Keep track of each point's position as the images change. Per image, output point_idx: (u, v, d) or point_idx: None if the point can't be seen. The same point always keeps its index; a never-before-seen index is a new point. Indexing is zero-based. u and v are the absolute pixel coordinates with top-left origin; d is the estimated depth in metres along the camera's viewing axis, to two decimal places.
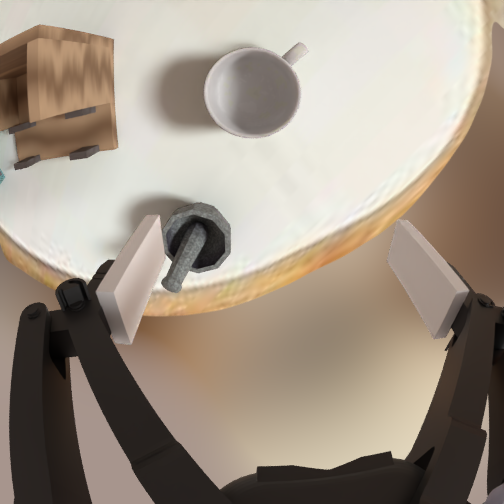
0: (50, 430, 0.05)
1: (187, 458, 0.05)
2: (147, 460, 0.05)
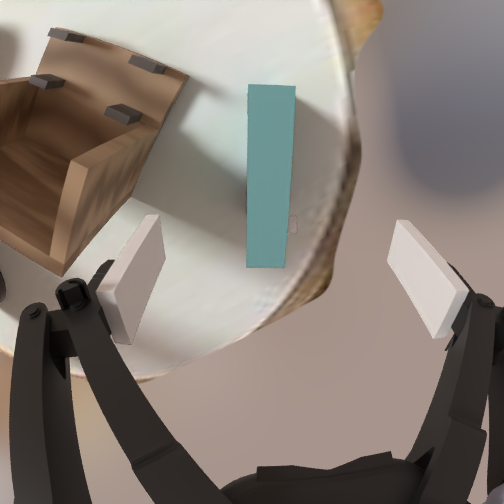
0: (50, 430, 0.05)
1: (187, 458, 0.05)
2: (147, 460, 0.05)
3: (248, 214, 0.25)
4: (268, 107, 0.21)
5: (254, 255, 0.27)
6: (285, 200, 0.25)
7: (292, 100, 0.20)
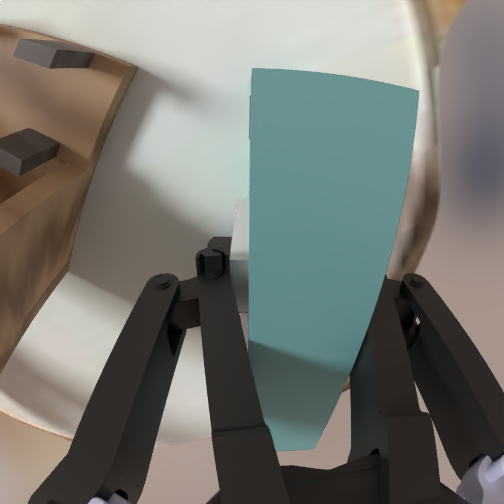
0: (139, 405, 0.07)
1: (269, 442, 0.05)
2: (230, 432, 0.05)
3: None
4: (327, 160, 0.06)
5: None
6: (337, 383, 0.10)
7: (406, 139, 0.05)
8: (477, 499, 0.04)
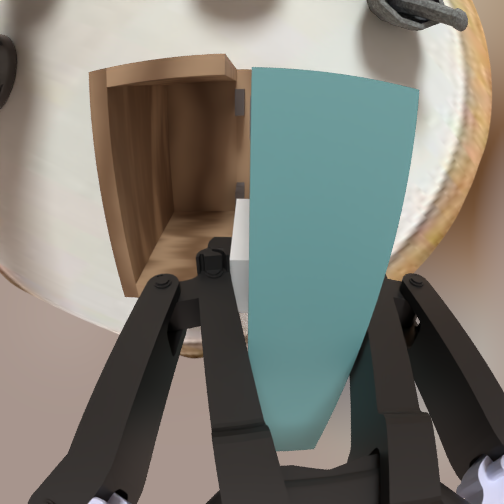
0: (139, 405, 0.07)
1: (269, 442, 0.05)
2: (230, 432, 0.05)
3: None
4: (326, 159, 0.06)
5: None
6: (337, 382, 0.10)
7: (406, 138, 0.05)
8: (477, 499, 0.04)
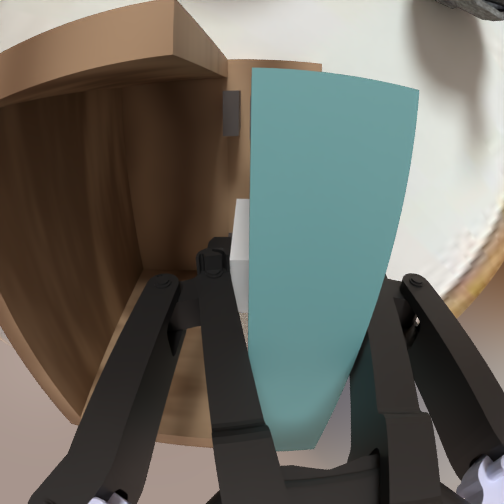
0: (139, 405, 0.07)
1: (269, 442, 0.05)
2: (230, 432, 0.05)
3: None
4: (326, 159, 0.06)
5: None
6: (337, 382, 0.10)
7: (406, 139, 0.05)
8: (477, 499, 0.04)
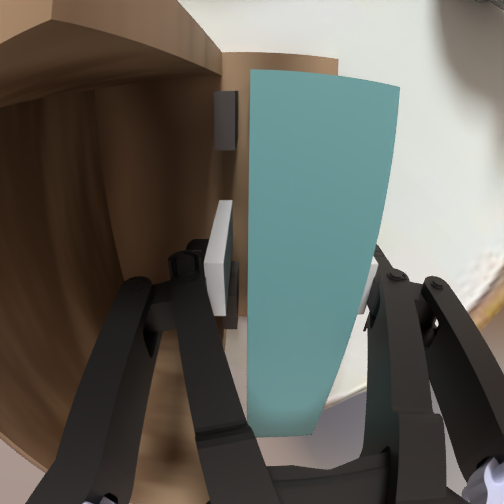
0: (120, 407, 0.06)
1: (253, 443, 0.05)
2: (213, 435, 0.05)
3: (250, 386, 0.11)
4: (317, 149, 0.07)
5: (261, 427, 0.13)
6: (331, 363, 0.10)
7: (388, 130, 0.06)
8: (481, 501, 0.04)
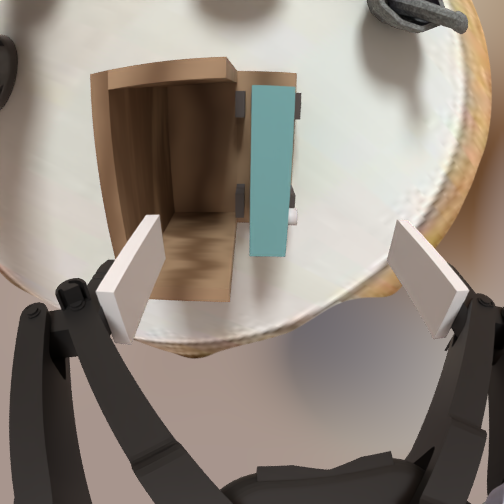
0: (50, 430, 0.05)
1: (187, 458, 0.05)
2: (147, 460, 0.05)
3: (251, 205, 0.27)
4: (270, 106, 0.22)
5: (257, 244, 0.29)
6: (286, 192, 0.26)
7: (292, 99, 0.22)
8: None
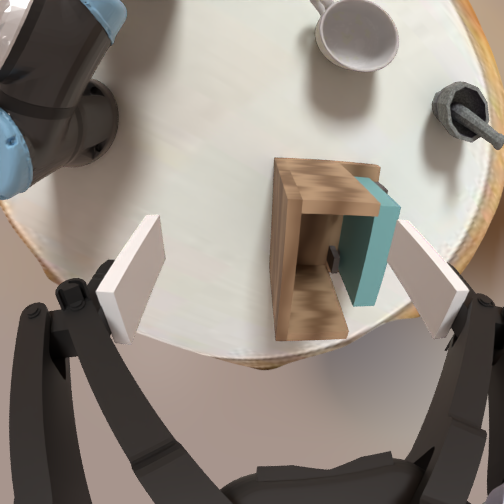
0: (50, 430, 0.05)
1: (187, 458, 0.05)
2: (147, 460, 0.05)
3: (361, 277, 0.40)
4: (385, 219, 0.35)
5: (359, 299, 0.42)
6: (383, 269, 0.39)
7: (397, 215, 0.35)
8: None
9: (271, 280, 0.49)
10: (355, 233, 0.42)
